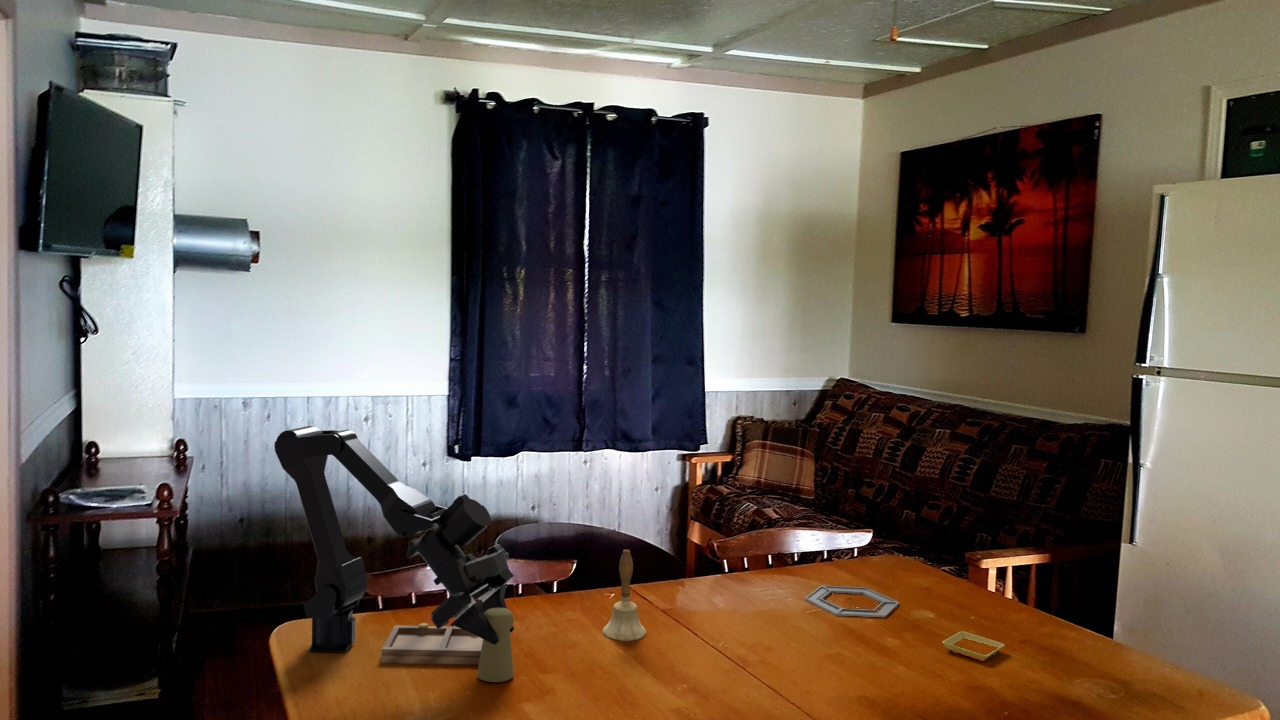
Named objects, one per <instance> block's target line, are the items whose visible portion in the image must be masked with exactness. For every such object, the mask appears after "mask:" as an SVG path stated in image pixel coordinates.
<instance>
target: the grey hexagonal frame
mask: <svg viewBox="0 0 1280 720" xmlns="http://www.w3.org/2000/svg"><path fill="white" fill-rule="evenodd" d="M830 593H835V594H839V593H845V594H846V593H848V594H846V595H860V594H862V595H861V596H863V595H864V597H866V596H867V597H866V598H868V597H869V599H870V598H871V600H872V599H873V601H875V600H876V601H875V602H877V601H879V602H881V603H880V604H879V605H877V606H876V607H875V608H874V609H845V608H843V607H841V606H839V605H836V604H834V603H832V602H831V601H827V600H825V599H826V598H827V597H829V596H830V595H831V594H830ZM849 593H850V594H849ZM851 593H852V594H851ZM829 594H830V595H829ZM845 594H844V595H845ZM828 595H829V596H828ZM826 596H827V597H826ZM825 597H826V598H825ZM824 598H825V599H824ZM805 600H806V601H805ZM804 601H805V602H807V601H808V602H807V603H809V602H810V603H809V604H811V603H812V604H811V605H813V604H814V606H815V605H816V606H815V607H817V606H818V607H817V608H819V607H820V608H819V609H821V608H822V610H823V609H824V610H823V611H825V610H826V611H825V612H827V611H828V612H827V613H829V612H830V613H829V614H831V613H832V614H831V615H833V614H834V615H833V616H835V615H836V616H835V617H847V616H859V617H858V618H869V617H886V616H887V615H888V614H889V613H890V612H891V611H892V610H893V609H894V608H895V607H896V606H897V605H898V604H899V605H900V601H897V600H896V599H892V598H891V597H889V596H886V595H883V594H882V593H879V592H877V591H875V590H872V589H870V588H868V587H859V586H857V587H856V586H834V585H820V586H819V587H818V588H816V589H815V590H813V591H812V592H811V593H809V594H808V595H807V596H805V597H804ZM879 602H878V603H879ZM883 604H884V605H883ZM899 605H898V606H899ZM881 606H884V607H881ZM898 606H897V607H898ZM879 607H880V608H879ZM897 607H896V608H897ZM896 608H895V609H896ZM877 609H881V610H880V611H879V610H877ZM895 609H894V610H895ZM876 610H877V611H876ZM894 610H893V611H894ZM854 611H855V612H854ZM875 611H876V613H875ZM893 611H892V612H893ZM873 612H874V613H873ZM877 612H878V613H877ZM892 612H891V613H892ZM891 613H890V614H891ZM890 614H889V615H890ZM889 615H888V616H889ZM860 616H861V617H860ZM862 616H863V617H862ZM888 616H887V617H888ZM887 617H886V618H887Z"/></svg>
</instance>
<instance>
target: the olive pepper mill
mask: <svg viewBox="0 0 1280 720" xmlns="http://www.w3.org/2000/svg"><path fill="white" fill-rule="evenodd" d="M483 614H484V615H485V617H486V618H487V620H488V622H489V623H490V625H491V626H492V628H493V629H494V631H495V633H496V635H497V636H498V638H499V642H498V643H496V644H495V645H494V644H492V643H490V642H488V641H486V640H484V639H483V643H482V649H481V655H480V660H479V665H478V667H477V671H476V672H477V674H476V675H477V678H478V679H480V680H482V681H484V682H489V683H491V682H492V683H501V682H502V683H503V682H505V681H506V682H507V681H508V680H511V679H512V678H513V677H514V675H515V673H514V662H513V661H514V660H513V653H512V652H513V651H512V650H513V649H512V640H511V633H510V629H511V628H512V626H513V627H514V619H515V618H514V615H513V613H512V611H511V610H510V609H508V608H507V609H506V608H500V607H496V608H490V609H488V610H486V611H485V612H484V613H483Z"/></svg>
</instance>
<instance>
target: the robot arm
mask: <svg viewBox="0 0 1280 720" xmlns="http://www.w3.org/2000/svg"><path fill="white" fill-rule="evenodd" d="M273 444H274V452H275V454H276V456H277V458H278V461H279V463H280V465H281V467H282V469H283V470H284V471H285V473H287V475H289V476H290V477H291V479H292V480H293V481H294V482H295V484H296V488H297V491H298V494H299V498H300V501H301V504H302V508H303V511H304V516H305V518H306V523H307V524H308V529H309V532H310V535H311V539H312V543H313V545H314V551H315V552H316V553H315V554H316V557H317V560H318V562H317V567H316V572H315V577H314V582H315V589H316V593H315V594H313V596H312V597H311V598H310V599H308V601H306V602H305V603H304V605H303V609H304V613H305V614H304V615H305V616H306V618H310V619H311V644H310V646H309V647H308V652H315V653H317V652H318V653H319V652H320V653H321V652H322V653H346V652H347V651H348V650H349V648H350V647H351V645H353V643H354V641H355V640H356V620H357V619H356V617H355V616H354V617H353V608H354V607H355V608H356V607H358V606H359V604H360V600H361V598H362V597H363V596H364V595H365V593H366V591H367V589H368V579H370V576H369V575H368V574H367V571H366V570H365V563H364V562H365V561H364V559H363V557H361V556H359V557H356V558H355V557H354V556H353V555H352V554H351V553H349V551H348V549H347V548H346V547H347V546H346V543H345V540H344V536H343V533H342V530H341V525H340V522H339V519H338V516H337V513H336V509H335V506H334V502H333V499H332V498H333V497H332V495H331V493H330V489H329V485H328V482H327V481H328V480H327V479H326V474H325V471H326V466H327V465H326V464H327V461H328V456H333V457H334V458H335V459H336V460H337V461H339V463H340V464H341V465H342V466H343V467H344V468H345V469H346V471H348V472H349V473H350V474H351V476H352V477H354V478H355V479H356V480H357V481H358V482H359V483H360V484H361V485H362V487H363V488H365V490H366V491H367V492H368V493H369V494H370V495H371V496H372V497H373V498H374V499H375V500H376V501H377V503H378V504H379V506H380V510H381V512H382V516H383V518H384V519H385V521H386V522H387V524H388V525H389V526H390V528H391V529H392V531H393V532H394V533H395V534H396V535H398V536H399V537H402V538H410V537H413V536H415V535H417V534H419V533H422V532H424V531H426V532H425V533H424V534H422V535H421V536H420V537H419V538H413V539H412V540H409V541H408V549H407V551H406V552H407V553H406V558H408V559H411V558H413V557H415V556H418V555H420V557H421V559H423V560H424V561H425V563H426V564H427V566H428V567H429V568H430V570H431V571H432V572H433V574H434V575H435V576H436V578H434V579H433V582H434V584H435V586H439V585H440V584H441V585H442V586H443V587H444V588H445V590H446V591H447V592H448V593H449V595H450V596H449V597H447V598H446V599H445V600H444V601H443V602H442V603H440V605H439V606H437V607H436V608H435V609H434V610H432V612H431V617H430V620H431V622H432V624H433V626H436V628H437V629H440V628H442V627H443V626H446V625H448V624H449V622H450V620H451V619H453V618H454V621H452V622H451V623H450V624H449V625H450V627H458V628H461V629H463V630H465V631H468V632H470V633H472V634H474V635H476V636H478V637H480V638H482V639H484V640H486V641H488V642H490V643H492V644H494V645H495V644H496V643H498V642H499V638H498V636H497V635H496V633H495V631H494V629H493V628H492V626H491V625H490V623H489V622H488V620H487V618H486V617H485V615H484V612H485V611H486V610H488V609H490V608H496V607H500V608H506V609H508V607H507V604H506V600H505V594H506V589H507V587H508V582H509V581H510V580H512V578H514V575H515V574H513V573H512V571H511V570H510V569H509V563H508V562H507V561H508V559H509V558H510V554H509V552H507V551H506V550H505V548H503V547H502V545H501V544H499V543H498V544H495V545H493V546H491V547H488V548H487V551H486V552H487V553H486V554H485V555H483V556H481V557H478V558H476V557H475V554H472V553H471V552H469V553H467V554H465V553H464V552H463V551H462V549H461V548H460V547H459V546H461V547H464V546H465V547H466V546H468V545H469V544H470V543H471V542H472V541H473V540H474V539H475V538H476V537H477V536H479V534H481V533H482V532H483V531H484V530H485V529H486V528H488V526H490V524H491V522H492V520H491V515H490V513H489V511H488V509H487V508H486V506H485V505H483V504H481V503H480V502H478V501H477V500H475V499H473V498H469V496H468V495H467V494H466V493H463V494H460V495H458V497H457V498H455V500H453V502H452V504H450V506H448V507H445V506H442V505H438V504H435V503H434V502H433V500H432V499H431V498H429V497H427V496H426V495H425V494H423V493H422V492H421V491H419V490H417V489H415V488H413V487H410V486H408V485H406V484H404V483H403V482H401V481H400V480H399V478H397V477H396V476H395V475H394V474H393V473H392V472H391V471H390V470H389V469H388V468H387V467H386V466H385V465H384V464H383V463H382V462H381V461H380V460H379V459H378V458H377V457H376V456H375V455H374V454H373V453H372V452H371V451H370V450H369V448H367V447H366V446H365V445H364V443H362V442H361V441H360V439H359V438H358V435H357V434H356V433H355V432H354V431H353V430H350V429H344V430H337V429H336V430H334V429H331V430H330V429H329V430H322V429H318V427H316V426H312V425H307V426H303V427H297V428H293V429H292V428H291V429H288V430H284V431H282V432H281V433H279V434H278V436H277V437H276V439H275V441H274V443H273ZM436 526H438V528H437V529H436V530H432V529H431V528H434V527H436ZM429 529H431V530H429ZM477 600H478V601H477ZM476 601H477V602H476ZM514 630H515V628H514V625H513V626H512V628H511V629H510V634H511V633H513V631H514Z"/></svg>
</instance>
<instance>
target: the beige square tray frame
mask: <svg viewBox="0 0 1280 720" xmlns="http://www.w3.org/2000/svg"><path fill="white" fill-rule="evenodd" d="M963 638H965V639H968V640H973V641H976V642H979V643H984V644H987V645H990V646H994V647H998V648H997V649H996V650H994V651H992V652H991V653H989V654H987V655H982V654H979V653H976V652H973V651H970V650H967V649H964V648H960V647H957V646H954V645H953V644H955V643H956V642H958V641H960V640H961V639H963ZM942 644H943V645H944V647H945V648H946V649H947V648H948V649H951V650H955V651H959V652H962V653H965V654H969V655H972V656H975V657H979V658H982V659H986V658H988V657H989V656H991V655H993V654H994V653H996V652H997V651H999V650H1000V651H1001V650H1002V649H1003V648H1004V647H1005V644H1004V643H1002V642H999V641H997V640H993V639H989V638H986V637H984V636H980V635H977V634H972V633H971V632H966V631H959V632H956V633H955V634H953V635H952V636H950V637H948V638H946V639H945V640H942ZM948 649H947V650H948ZM1000 651H999V652H1000ZM996 654H997V653H996ZM994 655H995V654H994ZM994 655H993V656H994ZM991 657H992V656H991ZM988 659H989V658H988ZM986 660H987V659H986Z"/></svg>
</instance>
